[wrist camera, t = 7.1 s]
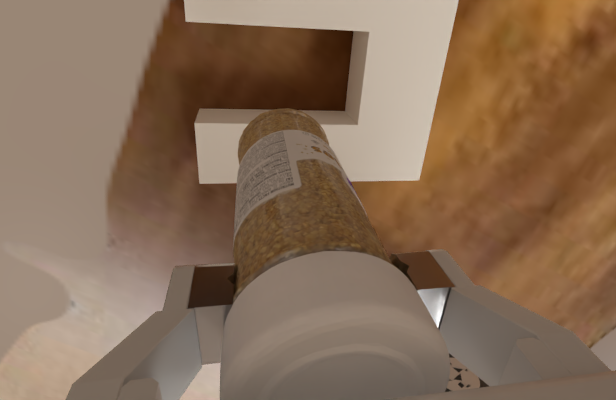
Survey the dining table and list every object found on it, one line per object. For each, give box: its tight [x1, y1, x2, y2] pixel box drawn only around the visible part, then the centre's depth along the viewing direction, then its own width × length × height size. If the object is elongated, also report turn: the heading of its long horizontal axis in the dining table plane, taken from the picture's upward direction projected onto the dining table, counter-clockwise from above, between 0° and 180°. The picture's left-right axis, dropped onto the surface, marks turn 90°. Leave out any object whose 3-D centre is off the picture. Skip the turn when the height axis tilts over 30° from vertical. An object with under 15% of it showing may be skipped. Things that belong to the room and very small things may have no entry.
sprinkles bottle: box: [220, 108, 450, 400], centre depth 13 cm, size 5×5×14 cm
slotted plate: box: [184, 0, 459, 184], centre depth 28 cm, size 16×18×4 cm
